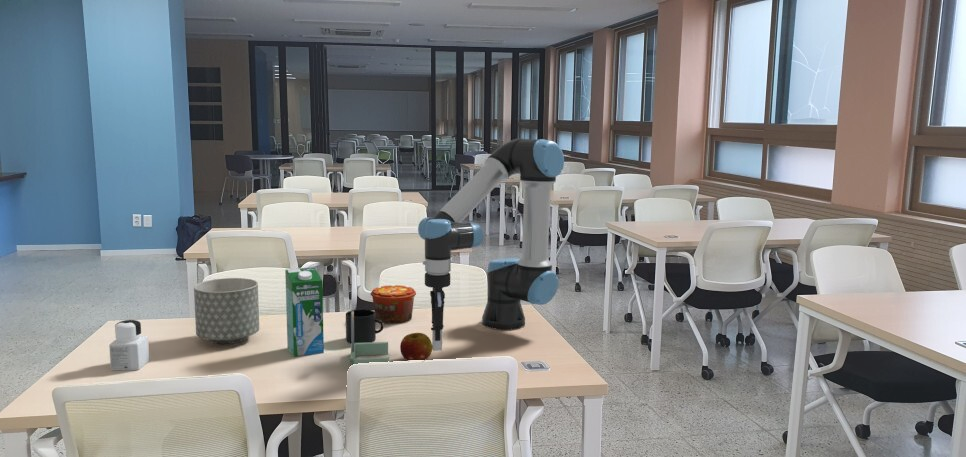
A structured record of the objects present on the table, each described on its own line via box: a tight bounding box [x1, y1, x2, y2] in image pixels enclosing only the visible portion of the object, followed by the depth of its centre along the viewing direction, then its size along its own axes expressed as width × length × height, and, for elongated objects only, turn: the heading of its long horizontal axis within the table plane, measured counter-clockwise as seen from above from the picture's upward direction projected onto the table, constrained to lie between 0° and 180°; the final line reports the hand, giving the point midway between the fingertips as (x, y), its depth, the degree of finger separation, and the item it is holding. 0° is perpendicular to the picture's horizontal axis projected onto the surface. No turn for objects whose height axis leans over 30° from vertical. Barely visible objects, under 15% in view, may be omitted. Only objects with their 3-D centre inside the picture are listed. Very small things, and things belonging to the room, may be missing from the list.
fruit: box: [399, 332, 433, 361], centre depth 210 cm, size 10×9×8 cm
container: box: [108, 319, 150, 371], centre depth 202 cm, size 8×8×13 cm
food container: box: [370, 284, 417, 325], centre depth 252 cm, size 16×16×11 cm
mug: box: [345, 308, 384, 344], centre depth 228 cm, size 9×12×9 cm
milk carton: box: [284, 266, 325, 357], centre depth 216 cm, size 9×9×25 cm
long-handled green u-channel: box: [349, 310, 391, 367], centre depth 207 cm, size 11×15×16 cm
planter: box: [193, 277, 260, 345], centre depth 225 cm, size 19×19×18 cm
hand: (437, 349), depth 211 cm, fingers closed
